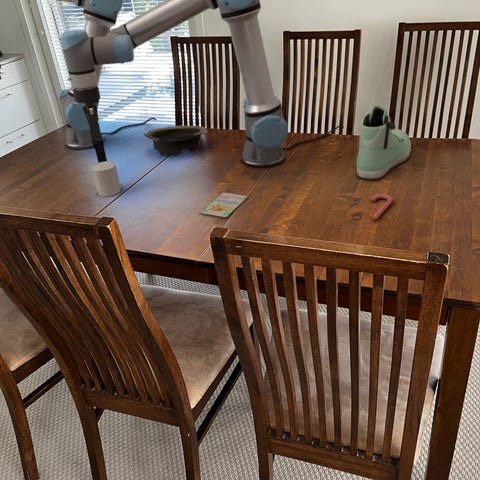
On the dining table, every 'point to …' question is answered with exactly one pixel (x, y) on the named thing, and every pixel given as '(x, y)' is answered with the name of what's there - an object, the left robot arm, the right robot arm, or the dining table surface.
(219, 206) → the baking ingredient package
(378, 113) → the sneaker
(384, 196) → the candy cane
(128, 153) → the dining table surface
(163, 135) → the stone bowl
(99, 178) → the canister
